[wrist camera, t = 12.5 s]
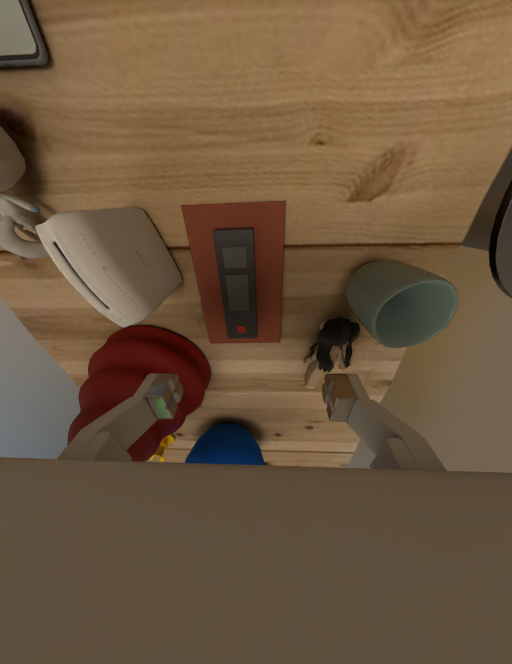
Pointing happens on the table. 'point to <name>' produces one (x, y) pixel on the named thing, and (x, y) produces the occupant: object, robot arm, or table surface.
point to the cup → (400, 302)
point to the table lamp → (141, 380)
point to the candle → (162, 449)
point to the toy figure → (330, 348)
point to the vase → (226, 447)
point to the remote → (237, 279)
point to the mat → (267, 262)
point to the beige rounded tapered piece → (15, 204)
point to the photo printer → (112, 260)
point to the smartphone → (19, 36)
